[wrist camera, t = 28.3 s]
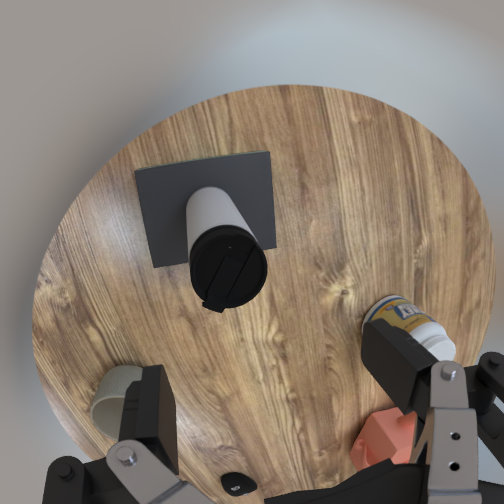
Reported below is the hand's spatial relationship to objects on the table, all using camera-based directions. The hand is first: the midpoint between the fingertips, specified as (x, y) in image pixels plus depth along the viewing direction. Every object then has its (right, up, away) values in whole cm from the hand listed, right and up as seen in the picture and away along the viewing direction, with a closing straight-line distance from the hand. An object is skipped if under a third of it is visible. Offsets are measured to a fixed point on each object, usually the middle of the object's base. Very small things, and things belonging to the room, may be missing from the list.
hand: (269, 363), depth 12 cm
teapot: (+34, -40, +59) cm, 79 cm away
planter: (-23, -19, +40) cm, 50 cm away
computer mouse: (-5, -57, +56) cm, 80 cm away
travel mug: (-7, +10, +31) cm, 33 cm away
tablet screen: (-7, +10, +31) cm, 34 cm away
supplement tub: (+26, -9, +47) cm, 55 cm away
